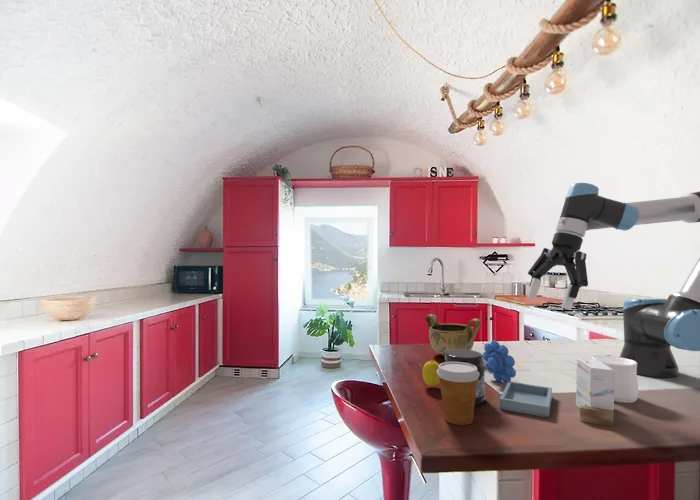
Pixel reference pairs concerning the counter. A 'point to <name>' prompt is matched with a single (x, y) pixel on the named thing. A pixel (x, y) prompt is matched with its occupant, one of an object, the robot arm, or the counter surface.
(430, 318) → the ceramic bowl
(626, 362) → the cup
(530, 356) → the counter surface
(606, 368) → the ink box
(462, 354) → the supplement container
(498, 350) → the grapes
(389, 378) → the counter surface
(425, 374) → the lemon
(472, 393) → the disposable coffee cup
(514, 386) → the tray
